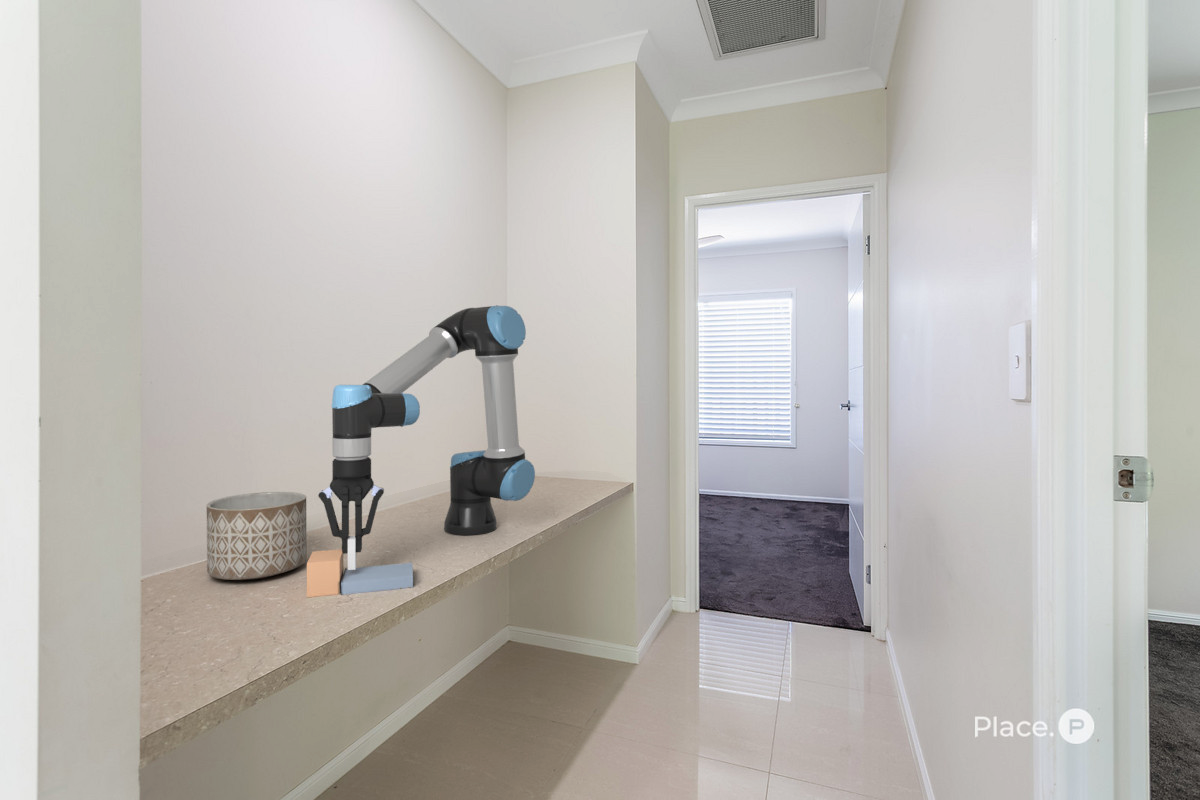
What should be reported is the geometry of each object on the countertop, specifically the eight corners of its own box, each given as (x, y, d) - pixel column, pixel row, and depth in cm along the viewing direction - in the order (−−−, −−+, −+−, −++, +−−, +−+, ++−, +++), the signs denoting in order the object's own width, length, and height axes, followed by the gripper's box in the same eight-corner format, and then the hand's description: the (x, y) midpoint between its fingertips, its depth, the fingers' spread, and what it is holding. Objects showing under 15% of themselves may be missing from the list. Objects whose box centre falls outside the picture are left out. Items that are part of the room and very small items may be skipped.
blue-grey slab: (412, 573, 129) (412, 562, 128) (412, 587, 120) (412, 575, 120) (345, 579, 124) (345, 568, 124) (340, 594, 115) (340, 582, 115)
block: (343, 580, 123) (343, 549, 123) (339, 594, 116) (339, 560, 116) (312, 583, 121) (312, 551, 121) (306, 597, 114) (306, 563, 114)
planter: (302, 553, 142) (302, 488, 141) (310, 577, 126) (310, 503, 125) (209, 566, 131) (208, 496, 131) (205, 593, 115) (204, 513, 115)
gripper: (385, 454, 125) (385, 559, 126) (320, 456, 121) (320, 565, 121) (384, 458, 118) (384, 570, 119) (315, 460, 114) (315, 576, 114)
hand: (352, 567), depth 120 cm, fingers closed
